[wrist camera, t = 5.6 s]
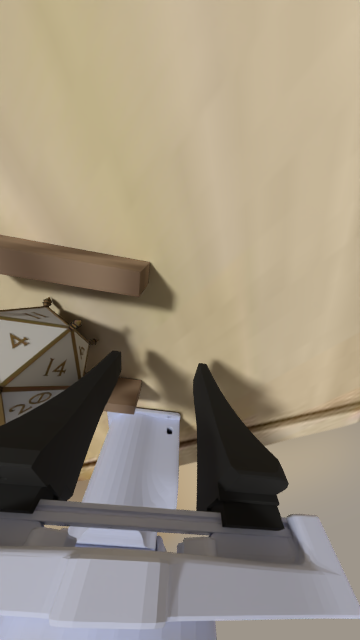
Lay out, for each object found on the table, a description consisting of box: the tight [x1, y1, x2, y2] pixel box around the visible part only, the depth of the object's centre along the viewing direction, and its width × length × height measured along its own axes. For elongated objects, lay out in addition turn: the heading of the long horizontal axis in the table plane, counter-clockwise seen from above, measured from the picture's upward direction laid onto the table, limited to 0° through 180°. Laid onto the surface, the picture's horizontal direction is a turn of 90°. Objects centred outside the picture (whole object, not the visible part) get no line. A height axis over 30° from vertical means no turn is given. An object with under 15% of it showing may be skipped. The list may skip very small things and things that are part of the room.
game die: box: [0, 297, 99, 426], centre depth 11 cm, size 9×8×10 cm
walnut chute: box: [0, 235, 150, 415], centre depth 13 cm, size 12×14×3 cm
